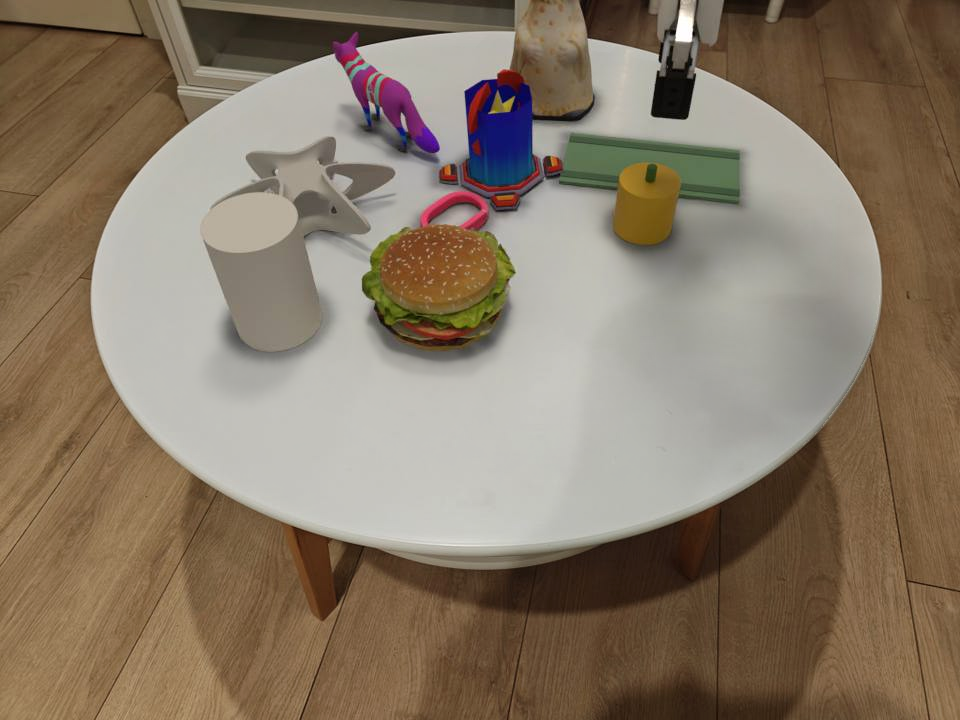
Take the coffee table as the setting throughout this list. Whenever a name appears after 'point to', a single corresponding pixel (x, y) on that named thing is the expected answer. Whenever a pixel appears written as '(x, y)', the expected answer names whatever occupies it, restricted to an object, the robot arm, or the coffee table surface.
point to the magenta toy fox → (383, 97)
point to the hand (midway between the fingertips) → (672, 88)
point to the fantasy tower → (500, 142)
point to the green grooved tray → (696, 166)
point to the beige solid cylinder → (263, 270)
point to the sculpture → (316, 185)
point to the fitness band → (455, 198)
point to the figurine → (554, 59)
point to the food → (438, 285)
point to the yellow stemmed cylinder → (646, 203)
